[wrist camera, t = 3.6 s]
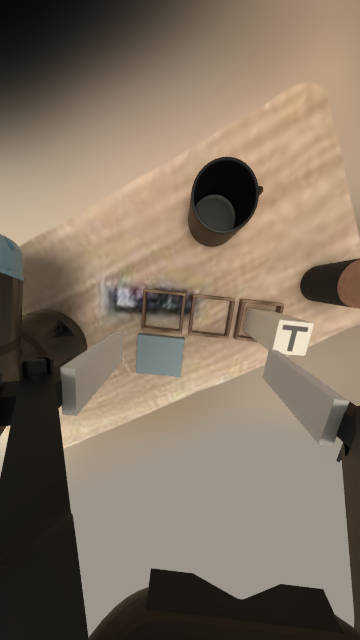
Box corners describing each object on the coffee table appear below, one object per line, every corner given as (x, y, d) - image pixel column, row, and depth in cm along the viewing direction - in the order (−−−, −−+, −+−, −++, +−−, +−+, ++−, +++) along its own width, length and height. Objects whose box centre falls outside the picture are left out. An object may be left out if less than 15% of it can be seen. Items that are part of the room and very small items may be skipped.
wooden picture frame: (142, 328, 36) (141, 329, 35) (145, 288, 35) (143, 288, 33) (181, 332, 37) (181, 334, 35) (185, 293, 35) (186, 293, 33)
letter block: (242, 330, 37) (272, 353, 25) (246, 307, 35) (279, 319, 24) (264, 333, 37) (305, 356, 25) (270, 310, 36) (314, 323, 24)
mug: (256, 230, 32) (284, 210, 23) (197, 254, 33) (204, 243, 24) (242, 178, 30) (267, 135, 22) (181, 204, 31) (181, 173, 23)
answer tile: (136, 370, 39) (135, 372, 38) (138, 333, 37) (137, 334, 36) (179, 374, 39) (180, 376, 38) (184, 337, 37) (184, 339, 36)
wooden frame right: (233, 337, 37) (235, 339, 35) (240, 298, 35) (242, 299, 34) (271, 341, 37) (274, 343, 36) (280, 303, 35) (284, 303, 34)
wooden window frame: (188, 332, 37) (188, 334, 35) (192, 293, 35) (193, 294, 33) (226, 336, 37) (228, 338, 35) (233, 298, 35) (235, 298, 34)
